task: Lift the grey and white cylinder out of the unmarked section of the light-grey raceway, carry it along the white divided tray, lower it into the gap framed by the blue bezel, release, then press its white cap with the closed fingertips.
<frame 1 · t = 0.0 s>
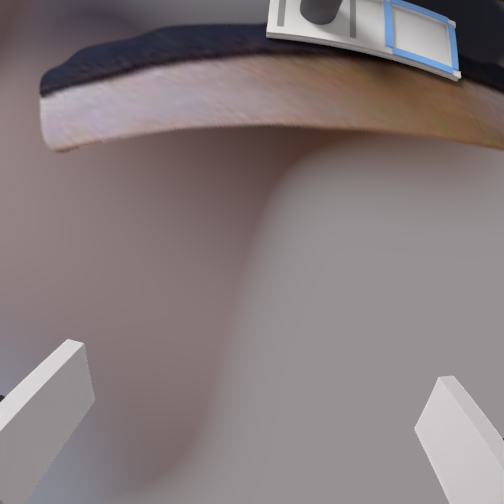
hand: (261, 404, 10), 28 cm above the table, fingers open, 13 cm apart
grey and white cylinder: (318, 10, 30), resting on white divided tray
white divided tray: (370, 23, 30), on the table
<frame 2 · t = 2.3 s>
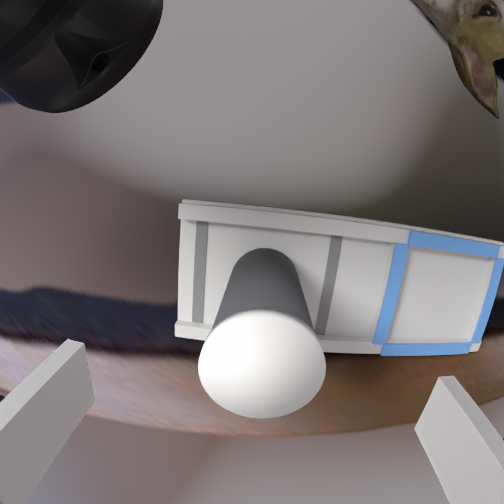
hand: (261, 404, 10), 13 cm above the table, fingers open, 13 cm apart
ceramic sculpture: (447, 26, 17), on the table
grey and white cylinder: (264, 280, 22), resting on white divided tray
white divided tray: (359, 287, 22), on the table
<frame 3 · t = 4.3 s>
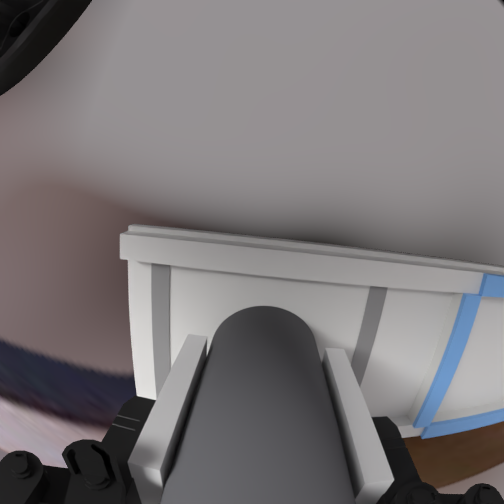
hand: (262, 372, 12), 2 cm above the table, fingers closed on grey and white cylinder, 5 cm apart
grey and white cylinder: (263, 353, 13), point 1 cm above the table, touching white divided tray, gripper
white divided tray: (403, 354, 14), on the table
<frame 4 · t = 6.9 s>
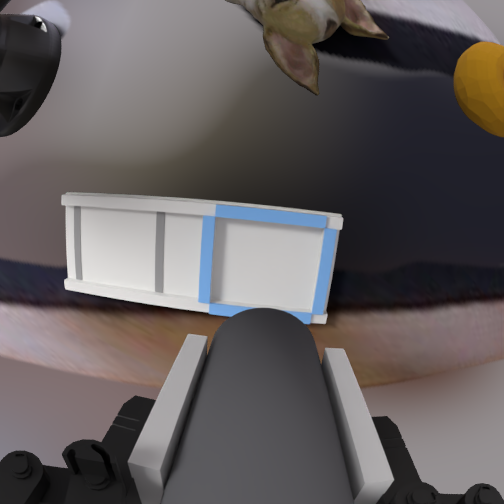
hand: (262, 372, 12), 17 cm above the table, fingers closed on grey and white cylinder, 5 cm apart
ceramic sculpture: (290, 20, 23), on the table
grey and white cylinder: (263, 355, 13), point 15 cm above the table, touching gripper
apple: (467, 98, 23), on the table
white divided tray: (187, 254, 28), on the table
when the fingers open (3 cm above the table, at t = 9.9 s): grey and white cylinder drops 2 cm, resting on white divided tray.
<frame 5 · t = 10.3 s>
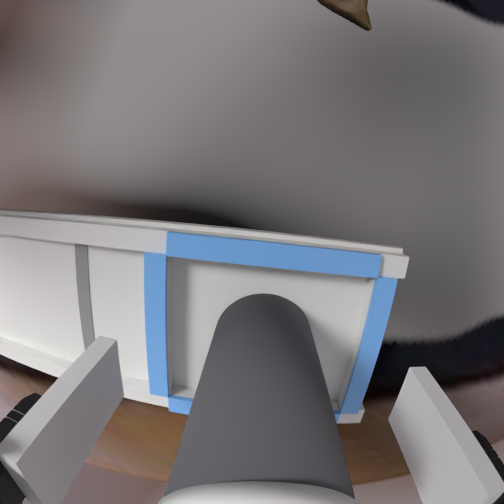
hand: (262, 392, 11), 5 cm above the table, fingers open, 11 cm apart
grey and white cylinder: (263, 337, 15), point 1 cm above the table, touching white divided tray
white divided tray: (129, 313, 15), on the table
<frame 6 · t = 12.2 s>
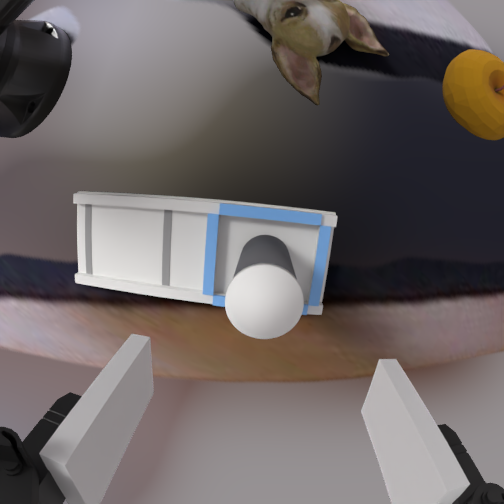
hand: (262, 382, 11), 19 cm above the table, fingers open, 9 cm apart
ceramic sculpture: (298, 32, 25), on the table
grey and white cylinder: (265, 259, 30), point 1 cm above the table, touching white divided tray
apple: (457, 103, 25), on the table
white divided tray: (192, 249, 30), on the table
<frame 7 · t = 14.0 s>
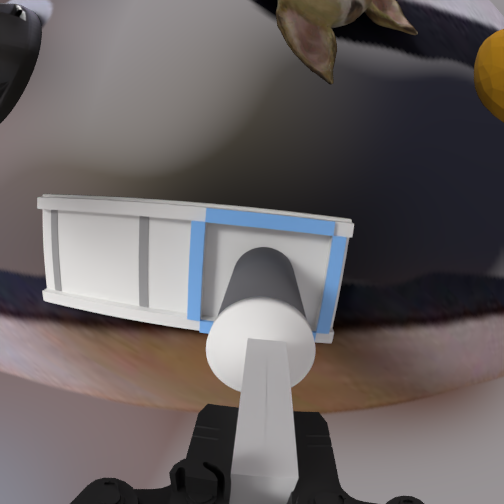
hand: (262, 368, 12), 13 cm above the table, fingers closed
ceramic sculpture: (309, 2, 19), on the table
grey and white cylinder: (263, 276, 24), point 1 cm above the table, touching white divided tray
apple: (487, 92, 20), on the table
white divided tray: (174, 264, 24), on the table
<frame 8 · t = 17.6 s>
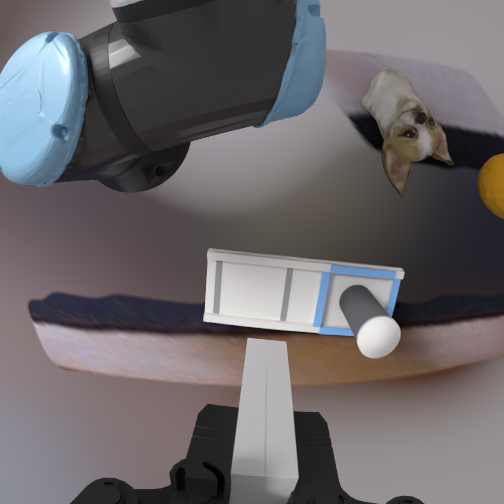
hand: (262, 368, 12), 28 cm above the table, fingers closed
ceramic sculpture: (395, 130, 36), on the table
grey and white cylinder: (355, 300, 41), point 1 cm above the table, touching white divided tray
apple: (484, 184, 37), on the table
white divided tray: (305, 294, 41), on the table
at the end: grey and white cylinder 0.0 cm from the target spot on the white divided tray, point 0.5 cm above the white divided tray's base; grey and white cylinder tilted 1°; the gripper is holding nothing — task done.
